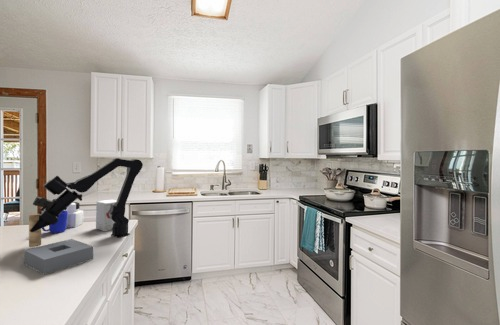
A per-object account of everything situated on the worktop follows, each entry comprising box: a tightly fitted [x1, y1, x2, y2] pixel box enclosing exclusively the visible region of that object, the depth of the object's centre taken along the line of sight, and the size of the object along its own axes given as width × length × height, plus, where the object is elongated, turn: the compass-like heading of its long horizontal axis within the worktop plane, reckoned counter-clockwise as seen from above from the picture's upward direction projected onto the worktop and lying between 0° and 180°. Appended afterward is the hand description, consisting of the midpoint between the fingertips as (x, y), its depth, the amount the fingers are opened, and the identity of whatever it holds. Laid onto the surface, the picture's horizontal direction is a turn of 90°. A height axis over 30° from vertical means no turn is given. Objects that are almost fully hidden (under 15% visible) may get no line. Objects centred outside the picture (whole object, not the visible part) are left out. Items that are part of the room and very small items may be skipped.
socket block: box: [23, 238, 94, 275], centre depth 99 cm, size 16×16×5 cm
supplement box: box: [95, 199, 117, 232], centre depth 144 cm, size 9×9×15 cm
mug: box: [41, 210, 68, 234], centre depth 133 cm, size 8×12×10 cm
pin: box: [28, 213, 42, 248], centre depth 111 cm, size 4×4×13 cm
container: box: [64, 201, 84, 228], centre depth 147 cm, size 8×8×13 cm
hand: (30, 230), depth 110 cm, fingers closed on pin, 4 cm apart
